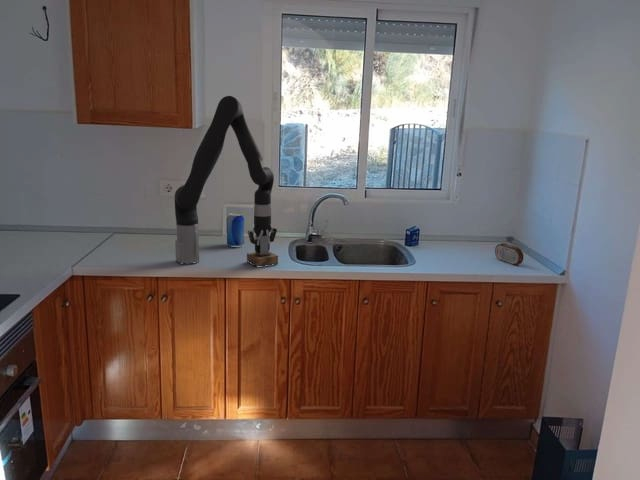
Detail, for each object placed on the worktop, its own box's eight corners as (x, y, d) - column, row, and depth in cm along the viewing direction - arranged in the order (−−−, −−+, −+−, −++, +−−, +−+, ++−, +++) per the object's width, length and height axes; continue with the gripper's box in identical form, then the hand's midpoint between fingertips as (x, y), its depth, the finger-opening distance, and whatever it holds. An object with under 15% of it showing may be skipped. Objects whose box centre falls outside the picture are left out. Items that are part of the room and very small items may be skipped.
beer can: (235, 249, 259) (235, 216, 255) (223, 246, 264) (222, 214, 260) (247, 245, 266) (247, 214, 262) (235, 242, 271) (235, 211, 267)
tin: (522, 266, 246) (525, 248, 244) (518, 267, 245) (520, 249, 242) (497, 258, 259) (499, 241, 257) (492, 258, 257) (494, 241, 255)
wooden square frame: (257, 267, 231) (257, 259, 230) (246, 262, 239) (246, 253, 238) (277, 264, 237) (277, 255, 236) (266, 258, 245) (266, 250, 244)
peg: (260, 260, 235) (260, 236, 232) (255, 258, 238) (256, 234, 235) (268, 259, 237) (268, 235, 235) (263, 257, 240) (263, 233, 238)
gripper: (252, 217, 226) (252, 256, 230) (281, 214, 234) (280, 252, 238) (243, 213, 232) (243, 252, 236) (272, 211, 240) (271, 248, 244)
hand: (262, 251), depth 237 cm, fingers closed on peg, 4 cm apart
